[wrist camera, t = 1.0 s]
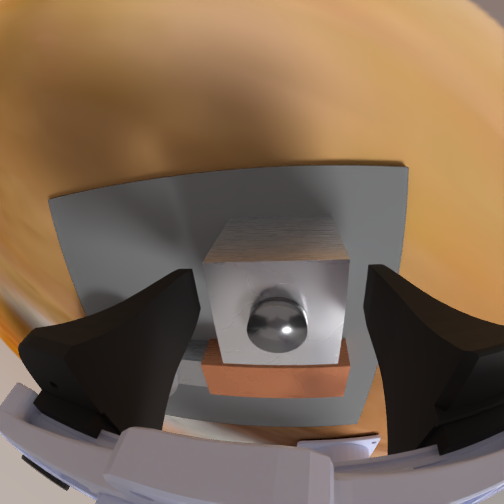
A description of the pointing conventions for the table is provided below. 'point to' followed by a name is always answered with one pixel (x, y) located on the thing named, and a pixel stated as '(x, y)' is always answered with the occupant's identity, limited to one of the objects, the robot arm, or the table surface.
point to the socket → (278, 290)
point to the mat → (201, 241)
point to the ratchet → (260, 375)
